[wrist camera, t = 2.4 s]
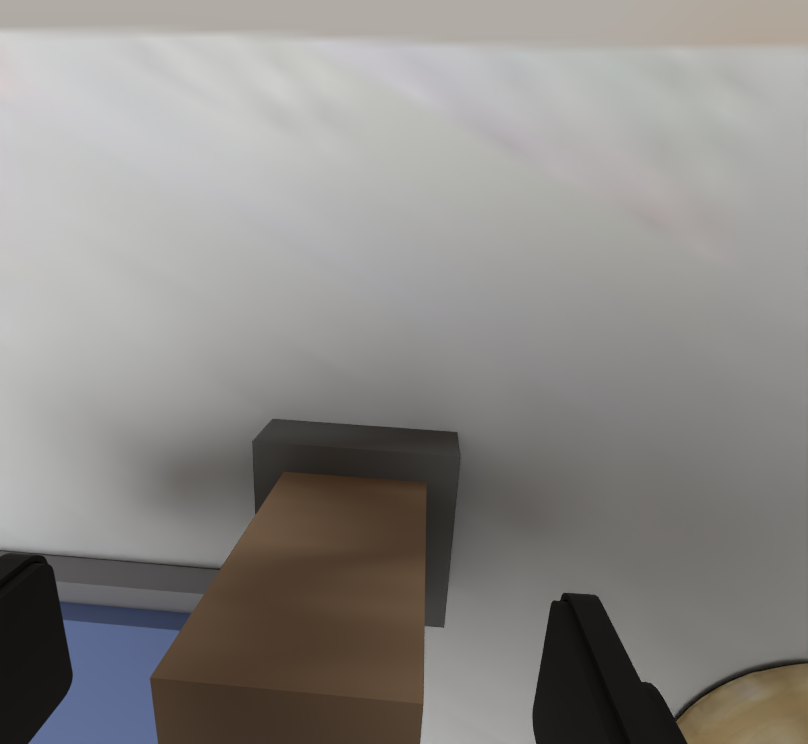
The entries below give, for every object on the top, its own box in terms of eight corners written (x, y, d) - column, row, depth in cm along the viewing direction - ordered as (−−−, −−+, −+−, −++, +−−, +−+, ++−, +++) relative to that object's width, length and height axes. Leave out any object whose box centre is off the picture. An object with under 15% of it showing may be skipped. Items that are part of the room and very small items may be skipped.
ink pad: (243, 571, 14) (219, 613, 12) (254, 785, 16) (235, 842, 15) (-43, 547, 14) (-101, 584, 12) (9, 760, 16) (-34, 813, 15)
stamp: (456, 431, 12) (490, 662, 5) (442, 586, 13) (454, 926, 7) (273, 418, 12) (84, 625, 6) (277, 572, 14) (128, 888, 7)
